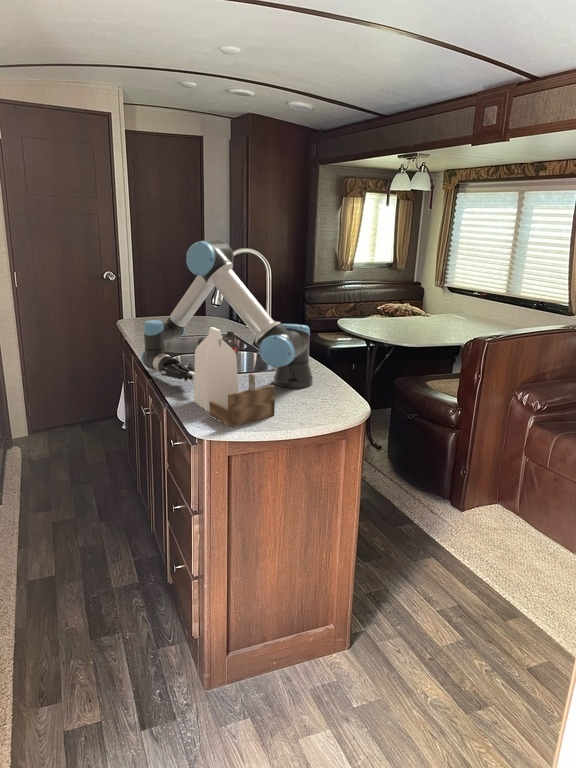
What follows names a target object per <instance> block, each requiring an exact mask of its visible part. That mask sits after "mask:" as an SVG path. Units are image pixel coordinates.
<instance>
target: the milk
mask: <svg viewBox="0 0 576 768" xmlns="http://www.w3.org/2000/svg"><path fill="white" fill-rule="evenodd" d="M204 338H205V339H204V340H203V341H202V342H201V343H200V344H199V345H198V344H197V346H196V348H195V350H194V368H195V375H194V381H193V383H194V385H193V388H194V389H193V402H194V403H195V402H196V403H195V404H196V405H198V406H199V405H200V406H199V407H200V408H202V407H203V408H204V409H205V411H206V410H207V411H208V412H210V401H214V402H216V403H218V404H221V405H223V406H225V407H227V408H228V394H232V393H237V392H239V381H238V379H239V378H238V363H237V361H238V360H237V354H236V353H235V351H234V350H233V349H232V348H231V347H230V346H229V345H228V344H227V343H226V342H224V341H223V340H222V338H223V336H222V330H221V329H219V328H216V327H213V326H211V327H209V329H208V335H207V336H206V337H204ZM203 408H202V409H203ZM204 409H203V410H204ZM207 411H206V412H207Z"/></svg>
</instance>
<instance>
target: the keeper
mask: <svg viewBox="0 0 576 768" xmlns="http://www.w3.org/2000/svg"><path fill="white" fill-rule="evenodd" d="M275 391H276V385H275V384H270V385H267V386H261V387H256V374H255V373H249V374H248V389H247V390H241V391H238V392H237V393H232V394H228V408H227V407H225V406H223V405H221V404H218V403H216V402H214V401H210V411H209V417H210V416H212V417H214V418H216V419H218V420H220V421H221V422H220V421H219V422H220V423H222V422H223V423H222V424H224V423H225V424H224V425H226V424H227V425H226V426H228V425H229V426H228V427H230V426H231V427H234V425H235V426H238V424H239V425H242V423H243V424H247V423H250V422H254V421H258V420H261V419H266V418H270V417H274V416H275V407H276V405H275V404H276V402H275V400H276V399H275V398H276V397H275V394H276V392H275ZM212 417H211V418H212ZM214 418H213V419H214ZM216 419H215V420H216ZM218 420H217V421H218Z"/></svg>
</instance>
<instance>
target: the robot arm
mask: <svg viewBox="0 0 576 768" xmlns="http://www.w3.org/2000/svg"><path fill="white" fill-rule="evenodd" d="M234 256H235V255H234V251H233V249H232V248H231V246H230V245H229V244H228V243H227V242H225V241H222V240H219V239H218V240H200V241H197V242H194V243H193V244H191V245H190V247H189V248H188V250H187V252H186V260H185V262H186V266H187V268H188V270H189V271H190V272H191V273H192V274H193V275H195V276H196V277H195V278H194V280H193V281H192V283H191V284H190V286H189V287H188V289H187V290H186V291H185V293H184V295H183V296H182V298H181V299H180V301H178V303H177V305H176V306H175V307H174V309H173V311H171V313H170V315H169V317H168V318H167V320H166V321H164V322H163V321H162V320H158V319H151V320H146V321H145V322H143V342H144V343H143V344H144V351H143V352H142V354H141V356H140V361H141V363H142V364H143V366H145V367H146V368H147V369H150V370H152V371H155V372H156V373H159V374H160V375H161V376H165V377H168V378H173V379H177V380H183V379H184V381H185V382H187V381H188V380H189V381H191V382H194V375H195V366H193V365H192V363H188V364H186V365H185V364H182V363H180V361H179V360H178V359H177V358H175V357H173V356H170V355H168V354H165V343H166V342H169V341H172V340H176V339H179V338H181V337H182V336H184V334H185V333H186V326H187V325H188V323H189V322H190V321H191V320H192V318H193V316H194V315H195V314H196V313H197V311H198V310H199V308H200V307H201V305H202V304H203V303H204V301H205V300H206V298H207V297H208V295H209V294H210V293H211V291H212V290H213V288H214V287H215V288H216V289H217V291H218V292H219V294H220V295H222V297H223V298H224V299H225V301H226V302H227V303H228V304H229V305H230V306H231V308H232V309H233V311H235V313H236V314H237V315H238V316H239V318H240V320H241V321H243V323H244V324H245V325H246V326H247V328H248V329H249V330H250V331H251V333H253V335H254V337H255V340H254V342H255V344H256V345H257V346H258V348H259V355H260V358H261V359H262V360H263V362H264V363H265V364H267V365H268V366H271V367H273V368H276V370H275V374H274V376H273V385H274V386H278V387H281V388H287V389H302V388H303V389H304V388H308V387H311V386H312V385H313V383H314V382H313V381H314V379H313V375H312V372H311V368H310V341H311V340H310V338H311V337H310V336H311V331H310V330H311V329H310V327H309V326H308V325H306V324H298V323H282V322H281V321H276V320H274V319H273V318H272V317H271V315H270V314H269V313H268V312H267V311H266V309H265V308H264V307H263V306H262V304H261V303H260V302H259V301H258V300H257V298H256V297H255V296H254V295H253V294H252V292H251V291H250V290H249V289H248V288H247V286H246V285H245V284H244V283H243V281H242V280H241V279H240V278H239V276H238V275H237V274H236V273H235V271H234V270H233V267H234Z"/></svg>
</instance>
